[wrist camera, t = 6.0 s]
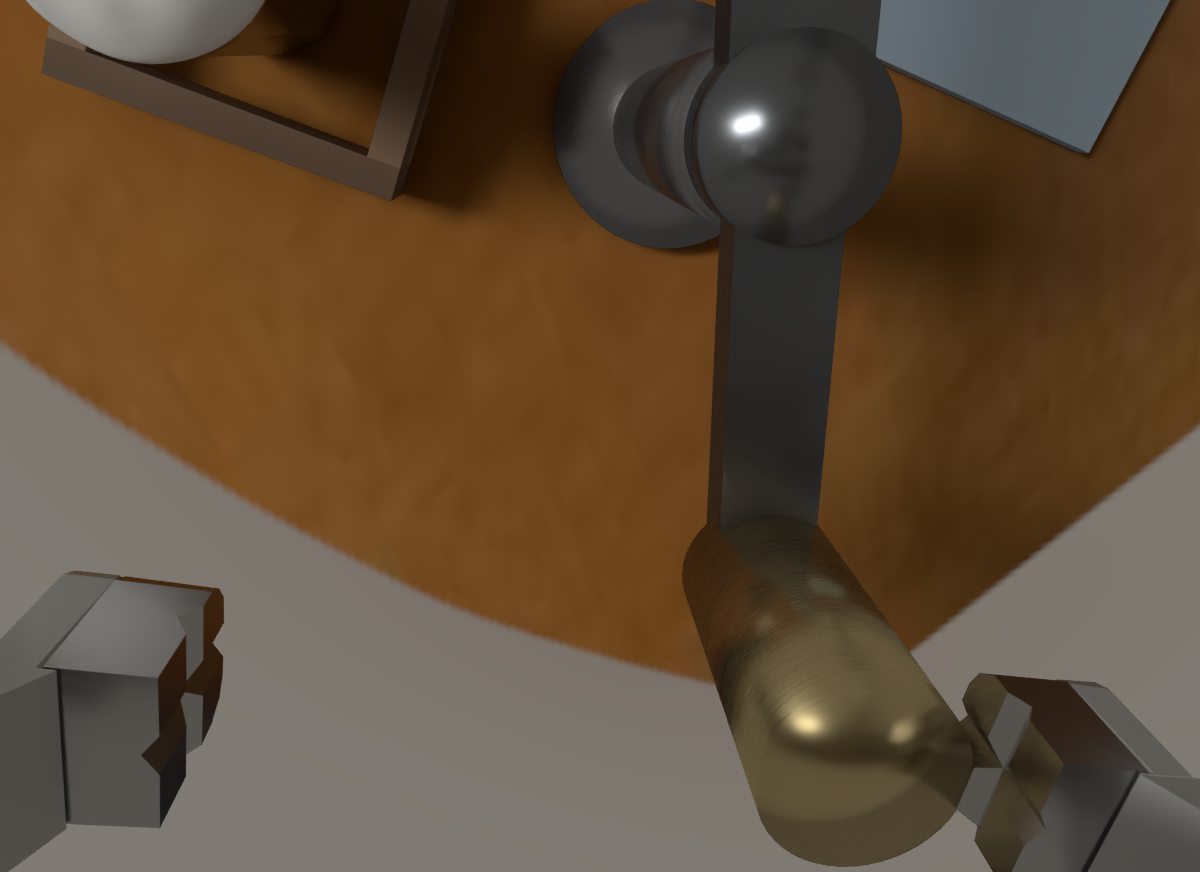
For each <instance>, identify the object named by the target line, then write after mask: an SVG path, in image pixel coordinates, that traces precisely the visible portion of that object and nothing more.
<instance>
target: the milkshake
mask: <svg viewBox="0 0 1200 872" xmlns="http://www.w3.org/2000/svg"><path fill="white" fill-rule="evenodd" d="M26 1H27V2H28V3H29V4H30V5H31V6H32V7H33V8H34V9H35V10H36V11H37V12H38V13H39V14H40V15H42V16H43V17H44V18H45V19H46V20H48V21H49V22H50V23H51V24H53V25H54V26H55V27H57V28H58V29H60V30H61V31H62V32H64V33H65V34H67V35H69V36H70V37H72V38H73V39H75V40H77V41H78V42H80V43H82V44H84V45H86V46H88V47H90V48H92V49H94V50H96V51H98V52H100V53H103V54H105V55H108V56H111V57H114V58H117V59H120V60H124V61H129V62H135V63H143V64H166V63H174V62H180V61H184V60H192V59H200V58H208V57H217V56H262V55H285V54H287V53H289V52H291V51H293V50H295V49H298V48H300V47H302V46H304V45H306V44H309V43H311V42H313V41H315V40H317V39H320V38H322V36H323V33H324V31H325V29H326V27H327V25H328V23H329V20H330V18H331V16H332V14H333V12H334V10H335V8H336V6H337V4H338V2H339V0H26Z"/></svg>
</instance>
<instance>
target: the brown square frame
mask: <svg viewBox="0 0 1200 872" xmlns="http://www.w3.org/2000/svg"><path fill="white" fill-rule="evenodd" d="M457 3H458V0H410V3H409V7H408V10H407V14H406V18H405V21H404V25H403V28H402V32H401V36H400V39H399V43H398V47H397V50H396V54H395V57H394V61H393V65H392V68H391V72H390V76H389V79H388V83H387V86H386V90H385V94H384V97H383V101H382V105H381V108H380V112H379V116H378V119H377V123H376V126H375V130H374V134H373V137H372V141H371V145H370V148H369V149H368V148H365V147H362V146H360V145H357V144H354V143H352V142H349V141H346V140H344V139H341V138H338V137H336V136H333V135H330V134H328V133H325V132H322V131H320V130H317V129H315V128H312V127H309V126H307V125H304V124H301V123H299V122H296V121H293V120H291V119H288V118H285V117H283V116H280V115H277V114H275V113H272V112H269V111H267V110H264V109H261V108H259V107H256V106H253V105H251V104H248V103H245V102H243V101H240V100H237V99H235V98H232V97H229V96H227V95H224V94H221V93H219V92H216V91H213V90H211V89H208V88H206V87H203V86H200V85H198V84H195V83H192V82H190V81H187V80H184V79H182V78H179V77H176V76H174V75H171V74H168V73H166V72H163V71H160V70H158V69H155V68H152V67H150V66H147V65H144V64H142V63H135V62H129V61H124V60H120V59H117V58H114V57H111V56H108V55H105V54H103V53H100V52H98V51H96V50H94V49H92V48H90V47H88V46H86V45H84V44H82V43H80V42H78V41H77V40H75V39H73V38H72V37H70V36H69V35H67V34H65V33H64V32H62V31H61V30H60V29H58V28H57V27H55V26H54V25H53V24H51V23H50V22H49V28H48V34H47V41H46V47H45V54H44V60H43V67H42V74H44V75H47V76H50V77H52V78H55V79H58V80H61V81H63V82H66V83H69V84H72V85H74V86H77V87H80V88H83V89H85V90H88V91H91V92H93V93H96V94H99V95H102V96H104V97H107V98H110V99H113V100H115V101H118V102H121V103H124V104H126V105H129V106H132V107H134V108H137V109H140V110H143V111H145V112H148V113H151V114H154V115H156V116H159V117H162V118H165V119H167V120H170V121H173V122H175V123H178V124H181V125H184V126H186V127H189V128H192V129H195V130H197V131H200V132H203V133H206V134H208V135H211V136H214V137H216V138H219V139H222V140H225V141H227V142H230V143H233V144H236V145H238V146H241V147H244V148H247V149H249V150H252V151H255V152H257V153H260V154H263V155H266V156H268V157H271V158H274V159H277V160H279V161H282V162H285V163H288V164H290V165H293V166H296V167H298V168H301V169H304V170H307V171H309V172H312V173H315V174H318V175H320V176H323V177H326V178H329V179H331V180H334V181H337V182H339V183H342V184H345V185H348V186H350V187H353V188H356V189H359V190H361V191H364V192H367V193H370V194H372V195H375V196H378V197H381V198H383V199H386V200H389V201H392V200H393V199H395V198H397V197H398V196H400V195H401V194H402V192H403V188H404V185H405V181H406V178H407V175H408V171H409V168H410V164H411V161H412V157H413V154H414V151H415V147H416V144H417V140H418V137H419V133H420V130H421V127H422V123H423V120H424V116H425V113H426V109H427V106H428V103H429V99H430V96H431V92H432V89H433V85H434V82H435V79H436V75H437V72H438V68H439V65H440V61H441V58H442V55H443V51H444V48H445V44H446V41H447V37H448V34H449V31H450V27H451V24H452V20H453V17H454V13H455V10H456V7H457Z"/></svg>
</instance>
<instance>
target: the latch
mask: <svg viewBox="0 0 1200 872" xmlns="http://www.w3.org/2000/svg"><path fill="white" fill-rule="evenodd" d="M880 10H881V0H716V10H715V36H714V61H713V68H712V69H711V70H710V72H709V73H708V74H707V75H706V76H705V78H704V79H703V81H702V83H701V84H700V86H699V87H698V89H697V91H696V93H695V95H694V97H693V99H692V102H691V105H690V108H689V111H688V114H687V118H686V123H685V130H684V155H685V161H686V166H687V170H688V173H689V177H690V179H691V181H692V184H693V186H694V188H695V190H696V192H697V193H698V195H699V197H700V198H701V200H702V201H703V202H704V203H705V205H706V206H707V207H708V208H709V209H710V210H711V211H712V212H713V213H714V214H715V215H716V216H717V217H719V218H720V236H719V259H718V281H717V304H716V326H715V349H714V372H713V394H712V417H711V439H710V462H709V484H708V507H707V524H706V525H705V526H704V527H703V528H702V529H701V531H700V532H699V533H698V534H697V535H696V537H695V538H694V539H693V541H692V543H691V545H690V546H689V548H688V551H687V553H686V556H685V559H684V563H683V570H682V583H683V588H684V593H685V596H686V599H687V601H688V604H689V607H690V610H691V613H692V616H693V619H694V622H695V625H696V628H697V631H698V634H699V637H700V640H701V643H702V646H703V649H704V652H705V655H706V658H707V661H708V664H709V667H710V670H711V673H712V676H713V679H714V682H715V685H716V688H717V691H718V694H719V697H720V700H721V703H722V705H723V709H724V712H725V714H726V718H727V721H728V724H729V726H730V729H731V733H732V736H733V738H734V742H735V744H736V748H737V750H738V753H739V756H740V759H741V762H742V765H743V768H744V771H745V774H746V777H747V780H748V783H749V786H750V789H751V792H752V795H753V798H754V801H755V804H756V807H757V810H758V813H759V816H760V819H761V821H762V823H763V825H764V827H765V829H766V830H767V832H768V833H769V834H770V836H771V837H772V838H773V839H774V840H775V841H776V842H777V843H778V844H779V845H780V846H782V848H784V849H785V850H787V851H788V852H790V853H791V854H793V855H795V856H797V857H799V858H802V859H804V860H807V861H810V862H814V863H817V864H822V865H828V866H838V867H847V866H848V867H849V866H861V865H868V864H873V863H877V862H881V861H885V860H888V859H891V858H894V857H896V856H899V855H901V854H903V853H906V852H908V851H909V850H911V849H913V848H915V847H917V846H919V845H920V844H922V843H923V842H924V841H926V840H927V839H929V838H930V837H931V836H932V835H934V834H935V833H936V832H937V831H938V830H940V829H941V828H942V827H943V826H944V825H945V823H947V822H948V820H949V819H950V818H951V817H952V816H953V814H954V813H955V812H956V810H957V809H956V807H957V804H958V801H959V799H960V796H961V794H962V791H963V789H964V786H965V784H966V781H967V778H968V776H969V773H970V771H971V768H972V766H973V753H972V748H971V744H970V740H969V738H968V736H967V733H966V731H965V729H964V728H963V726H962V725H961V723H960V722H959V720H958V719H957V718H956V716H955V715H954V713H953V712H952V710H951V709H950V708H949V706H948V705H947V704H946V702H945V701H944V699H943V698H942V697H941V695H940V694H939V692H938V691H937V690H936V688H935V687H934V685H933V684H932V683H931V681H930V680H929V679H928V677H927V676H926V674H925V673H924V672H923V670H922V669H921V667H920V666H919V665H918V663H917V662H916V660H915V659H914V658H913V656H912V655H911V653H910V652H909V651H908V649H907V648H906V646H905V645H904V644H903V642H902V641H901V639H900V638H899V637H898V635H897V634H896V633H895V631H894V630H893V628H892V627H891V626H890V624H889V623H888V621H887V620H886V619H885V617H884V616H883V614H882V613H881V612H880V610H879V609H878V607H877V606H876V605H875V603H874V602H873V601H872V599H871V598H870V596H869V595H868V594H867V592H866V591H865V589H864V588H863V587H862V585H861V584H860V582H859V581H858V580H857V578H856V577H855V575H854V574H853V573H852V571H851V570H850V569H849V567H848V566H847V564H846V563H845V562H844V560H843V559H842V557H841V556H840V555H839V553H838V552H837V550H836V549H835V548H834V546H833V545H832V543H831V542H830V541H829V539H828V538H827V536H826V535H825V534H824V532H823V531H822V530H821V528H820V527H819V526H818V525H817V520H818V510H819V499H820V489H821V478H822V468H823V457H824V446H825V436H826V425H827V415H828V404H829V393H830V383H831V372H832V362H833V351H834V341H835V330H836V319H837V309H838V298H839V288H840V277H841V267H842V256H843V245H844V235H845V230H846V229H847V228H849V227H850V226H852V225H853V224H855V223H856V222H857V221H858V220H859V219H861V218H862V217H863V216H864V215H865V214H866V213H867V212H868V211H869V210H870V209H871V208H872V207H873V205H874V204H875V203H876V202H877V200H878V199H879V197H880V196H881V195H882V193H883V191H884V190H885V188H886V186H887V184H888V183H889V181H890V178H891V176H892V174H893V171H894V169H895V166H896V163H897V159H898V156H899V151H900V146H901V139H902V116H901V108H900V103H899V98H898V95H897V92H896V89H895V86H894V84H893V82H892V80H891V78H890V76H889V74H888V72H887V70H886V69H885V67H884V66H883V65H882V63H881V62H880V60H879V59H878V58H877V57H876V50H877V40H878V30H879V20H880Z"/></svg>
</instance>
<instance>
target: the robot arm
mask: <svg viewBox="0 0 1200 872" xmlns="http://www.w3.org/2000/svg"><path fill="white" fill-rule="evenodd" d="M223 623H224V597H223V595H222V593H221V591H220V589H218V588H211V587H203V586H195V585H188V584H180V583H172V582H165V581H156V580H149V579H142V578H134V577H126V576H125V577H121V576H119V575H110V574H100V573H91V572H82V571H72V572H69V573H65V574H63V575H62V576H61V577H60V578H59V579H58V580H57V581H56V582H55V583H54V584H53V585H52V586H51V587H50V588H49V589H48V590H47V591H46V592H45V593H44V594H43V595H42V596H41V597H40V598H39V600H38V601H37V602H36V603H35V604H34V605H33V606H32V607H31V608H30V609H29V610H28V611H27V612H26V613H25V614H24V615H23V616H22V617H21V618H20V619H19V620H18V621H17V622H16V624H15V625H14V626H13V627H12V628H11V629H10V630H9V631H8V632H7V633H6V634H5V635H4V636H3V637H2V638H1V639H0V872H8V871H10V870H11V869H13V868H14V867H15V866H17V865H18V864H19V863H21V862H22V861H23V860H25V859H26V858H27V857H29V856H30V855H31V854H33V853H34V852H36V851H37V850H38V849H39V848H41V847H42V846H44V845H45V844H46V843H48V842H49V841H50V840H52V839H53V838H54V837H56V836H57V835H59V834H60V833H61V832H63V831H64V830H65V829H66V824H85V825H105V826H107V825H108V826H128V827H150V828H160V827H161V825H162V823H163V821H164V819H165V817H166V815H167V813H168V811H169V809H170V807H171V805H172V803H173V801H174V799H175V797H176V795H177V793H178V791H179V789H180V787H181V785H182V783H183V781H184V779H185V777H186V754H187V753H189V752H190V751H192V750H194V749H195V748H197V747H199V746H200V745H202V743H203V741H204V739H205V737H206V735H207V732H208V730H209V728H210V726H211V724H212V721H213V717H214V714H215V710H216V707H217V704H218V700H219V697H220V690H221V683H222V676H223V656H222V655H221V653H220V652H219V651H218V649H217V648H216V647H215V646H214V644H213V641H214V640H215V638H216V636H217V634H218V633H219V631H220V629H221V627H222V625H223ZM962 701H963V704H964V706H965V709H966V712H967V715H968V716H966V717H965V718H964V719H963V720H961V721H960V723H961V725H962V726H963V728H964V729H965V731H966V733H967V736H968V738H969V740H970V744H971V748H972V753H973V766H972V768H971V771H970V773H969V776H968V778H967V781H966V784H965V786H964V789H963V791H962V794H961V796H960V799H959V801H958V804H957V807H956V809H957V810H958V811H959V812H961V813H962V814H963V815H964V816H966V817H967V818H968V819H970V820H971V821H972V822H973V823H975V824H976V825H977V831H976V836H975V842H976V844H977V846H978V847H979V849H980V851H981V852H982V854H983V856H984V857H985V859H986V861H987V862H988V864H989V866H990V868H991V869H992V871H993V872H1200V779H1198V778H1193V777H1192V776H1191V775H1190V774H1189V773H1188V772H1187V771H1186V770H1185V769H1184V767H1183V766H1182V765H1181V764H1180V763H1179V762H1178V761H1177V760H1176V759H1175V758H1174V757H1173V756H1172V755H1171V754H1170V753H1169V752H1168V751H1167V750H1166V749H1165V748H1164V746H1163V745H1162V744H1161V743H1160V742H1159V741H1158V740H1157V739H1156V738H1155V737H1154V736H1153V735H1152V734H1151V733H1150V732H1149V731H1148V730H1147V729H1146V728H1145V727H1144V726H1143V724H1142V723H1141V722H1140V721H1139V720H1138V719H1137V718H1136V717H1135V716H1134V715H1133V714H1132V713H1131V712H1130V711H1129V710H1128V709H1127V708H1126V707H1125V706H1124V705H1123V703H1122V702H1121V701H1120V700H1119V699H1118V698H1117V697H1116V696H1115V695H1114V694H1113V693H1112V692H1111V691H1110V690H1109V689H1107V688H1105V687H1103V686H1101V685H1099V684H1097V683H1095V682H1083V681H1069V680H1046V679H1036V678H1025V677H1015V676H1003V675H993V674H982V673H979V674H978V675H977V676H976V677H975V678H974V679H973V680H972V681H971V682H970V683H969V686H968V688H967V690H966V693H965V695H964V697H963V699H962Z"/></svg>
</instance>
